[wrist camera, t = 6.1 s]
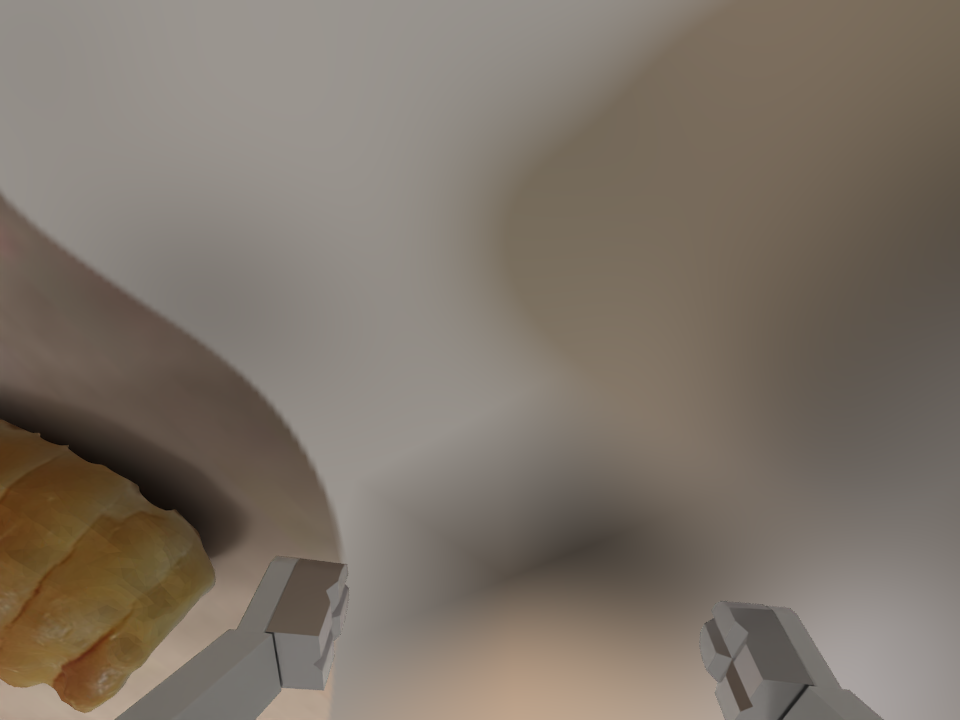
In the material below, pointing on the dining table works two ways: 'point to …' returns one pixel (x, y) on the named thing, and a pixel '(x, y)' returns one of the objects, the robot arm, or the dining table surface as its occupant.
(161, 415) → the dining table surface
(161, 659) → the dining table surface
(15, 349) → the dining table surface
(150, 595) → the pastry
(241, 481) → the dining table surface
